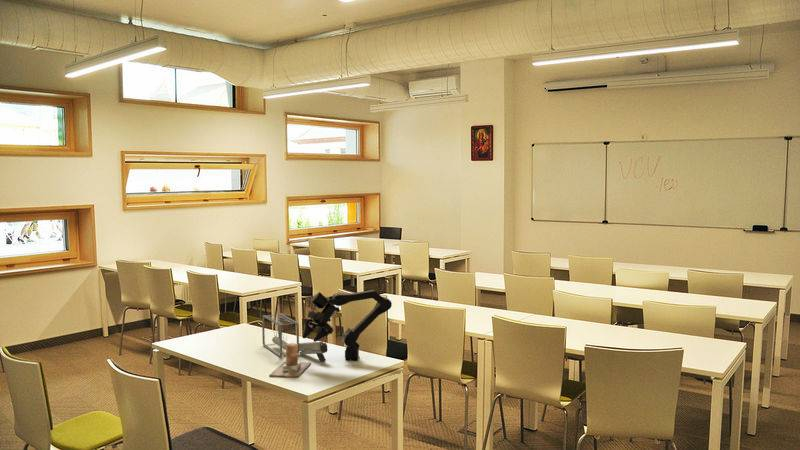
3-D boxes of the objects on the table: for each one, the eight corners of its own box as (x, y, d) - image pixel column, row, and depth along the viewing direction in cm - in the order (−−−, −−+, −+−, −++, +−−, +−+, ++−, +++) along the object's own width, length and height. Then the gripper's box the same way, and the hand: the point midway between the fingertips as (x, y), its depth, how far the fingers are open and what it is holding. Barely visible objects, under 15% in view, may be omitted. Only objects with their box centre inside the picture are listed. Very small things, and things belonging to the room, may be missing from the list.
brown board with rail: (311, 364, 305) (311, 357, 305) (298, 377, 284) (298, 370, 283) (284, 363, 307) (284, 356, 307) (269, 376, 286) (269, 369, 285)
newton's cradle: (299, 355, 321) (298, 322, 320) (280, 358, 316) (279, 325, 315) (280, 342, 347) (279, 312, 346) (262, 345, 342) (261, 314, 340)
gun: (326, 361, 306) (323, 341, 307) (299, 362, 324) (296, 343, 325) (330, 360, 308) (327, 340, 309) (303, 361, 326) (300, 342, 327)
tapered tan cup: (299, 367, 297) (298, 343, 296) (295, 371, 291) (295, 346, 291) (288, 367, 298) (287, 343, 297) (284, 370, 292) (284, 346, 291)
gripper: (306, 302, 310) (288, 327, 303) (328, 307, 296) (310, 333, 289) (318, 315, 316) (301, 339, 309) (341, 320, 302) (323, 346, 295)
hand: (308, 339), depth 300 cm, fingers open, 9 cm apart
